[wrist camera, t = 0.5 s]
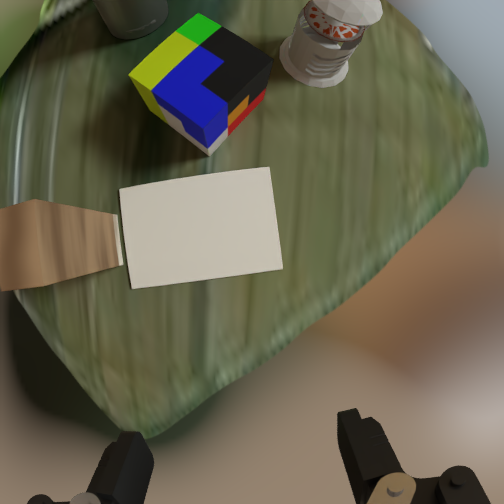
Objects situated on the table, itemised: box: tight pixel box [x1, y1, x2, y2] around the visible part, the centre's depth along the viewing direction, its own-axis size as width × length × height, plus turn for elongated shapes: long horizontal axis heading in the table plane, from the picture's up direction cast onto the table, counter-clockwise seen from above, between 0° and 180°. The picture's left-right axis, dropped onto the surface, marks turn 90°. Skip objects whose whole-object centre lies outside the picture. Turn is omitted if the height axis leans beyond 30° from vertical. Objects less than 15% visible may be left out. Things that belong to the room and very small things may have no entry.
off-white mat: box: [119, 167, 283, 289], centre depth 36 cm, size 18×12×1 cm, turn 98°
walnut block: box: [0, 199, 123, 291], centre depth 27 cm, size 4×6×18 cm
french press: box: [279, 0, 383, 88], centre depth 24 cm, size 10×12×25 cm
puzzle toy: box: [129, 13, 274, 157], centre depth 31 cm, size 10×10×10 cm
